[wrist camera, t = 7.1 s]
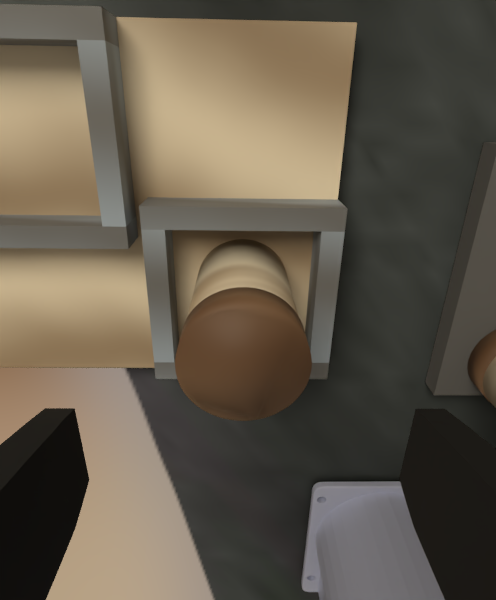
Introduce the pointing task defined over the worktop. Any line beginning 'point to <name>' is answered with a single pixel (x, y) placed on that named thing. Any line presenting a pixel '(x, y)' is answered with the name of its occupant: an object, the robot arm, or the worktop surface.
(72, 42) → the socket board
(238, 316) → the sleeve band up
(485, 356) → the sleeve band down
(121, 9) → the worktop surface
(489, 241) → the pad
